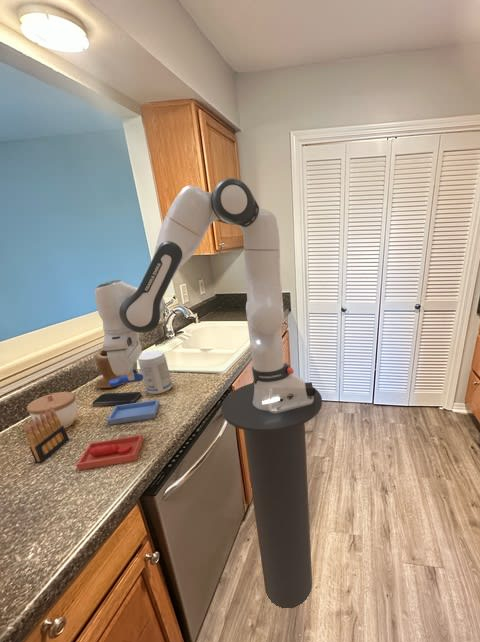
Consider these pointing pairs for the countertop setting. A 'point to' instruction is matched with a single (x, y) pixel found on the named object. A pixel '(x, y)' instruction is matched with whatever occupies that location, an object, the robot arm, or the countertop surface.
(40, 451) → the ammunition clip
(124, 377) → the blue lumpy bar
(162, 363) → the supplement tub
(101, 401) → the phone
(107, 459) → the red tray
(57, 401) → the lidded bowl
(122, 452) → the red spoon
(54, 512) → the countertop surface
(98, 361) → the boot
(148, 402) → the blue tray
